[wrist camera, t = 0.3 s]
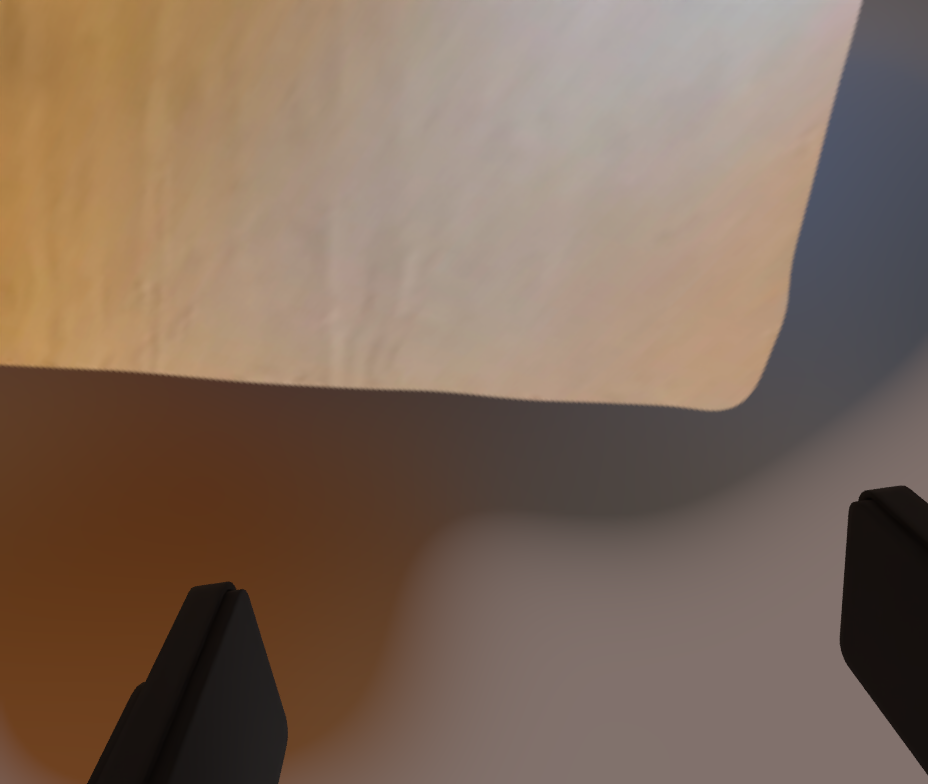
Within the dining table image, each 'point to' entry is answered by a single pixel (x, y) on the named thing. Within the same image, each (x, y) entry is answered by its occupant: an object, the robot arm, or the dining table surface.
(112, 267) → the dining table surface
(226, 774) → the robot arm
